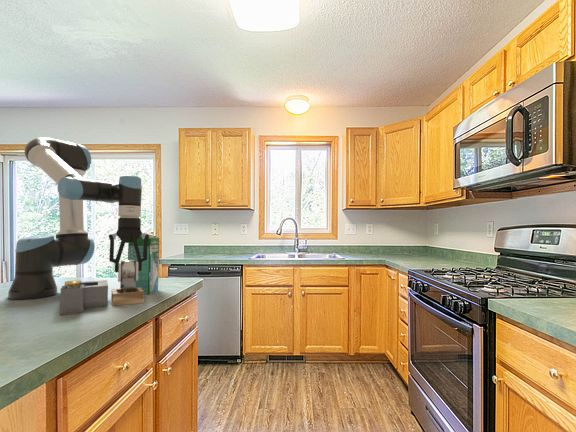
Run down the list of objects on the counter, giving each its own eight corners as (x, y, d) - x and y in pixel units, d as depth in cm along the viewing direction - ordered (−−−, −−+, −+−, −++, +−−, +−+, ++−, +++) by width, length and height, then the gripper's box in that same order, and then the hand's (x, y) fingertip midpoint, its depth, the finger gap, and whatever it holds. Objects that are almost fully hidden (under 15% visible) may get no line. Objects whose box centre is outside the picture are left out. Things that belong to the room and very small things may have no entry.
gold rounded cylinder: (64, 302, 104) (65, 281, 104) (80, 300, 106) (81, 280, 107) (63, 305, 100) (64, 283, 101) (80, 303, 103) (80, 282, 103)
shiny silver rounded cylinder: (119, 292, 119) (120, 260, 119) (134, 291, 122) (135, 259, 122) (120, 295, 115) (121, 261, 115) (135, 294, 117) (136, 261, 118)
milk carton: (148, 294, 130) (150, 232, 131) (126, 294, 130) (128, 232, 131) (158, 290, 139) (159, 232, 140) (137, 290, 139) (139, 232, 140)
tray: (111, 300, 120) (111, 289, 120) (140, 297, 125) (140, 287, 125) (112, 305, 111) (112, 294, 111) (143, 302, 116) (144, 291, 117)
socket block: (64, 302, 115) (65, 280, 116) (106, 298, 122) (107, 277, 122) (59, 315, 99) (60, 289, 99) (108, 310, 106) (108, 285, 106)
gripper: (101, 216, 111) (99, 284, 111) (157, 217, 121) (155, 280, 120) (101, 217, 118) (99, 281, 117) (154, 218, 127) (152, 277, 126)
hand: (128, 280), depth 118 cm, fingers closed on shiny silver rounded cylinder, 5 cm apart
